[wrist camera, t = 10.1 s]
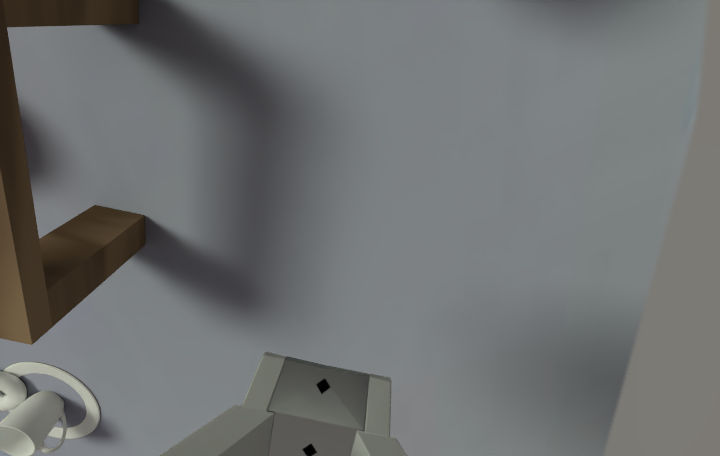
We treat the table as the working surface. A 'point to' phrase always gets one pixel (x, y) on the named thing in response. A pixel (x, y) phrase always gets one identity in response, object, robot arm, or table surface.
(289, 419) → the robot arm
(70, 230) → the bridge
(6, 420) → the mug and donut ornament
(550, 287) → the table surface
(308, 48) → the table surface
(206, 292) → the table surface
